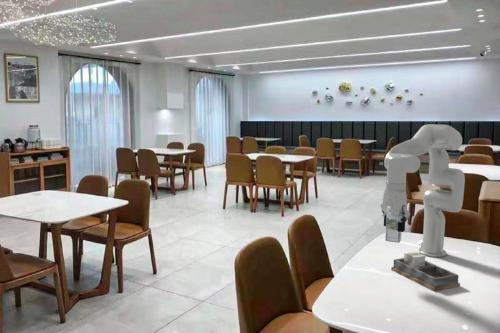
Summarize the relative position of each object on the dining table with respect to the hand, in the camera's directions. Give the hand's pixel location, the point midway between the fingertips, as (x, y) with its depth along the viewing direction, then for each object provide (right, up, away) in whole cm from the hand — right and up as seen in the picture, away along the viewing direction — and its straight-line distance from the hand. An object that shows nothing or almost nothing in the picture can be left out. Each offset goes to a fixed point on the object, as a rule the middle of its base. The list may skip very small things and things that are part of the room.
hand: (394, 228), depth 182 cm
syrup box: (0, -5, +1) cm, 5 cm away
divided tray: (+14, -21, +4) cm, 26 cm away
